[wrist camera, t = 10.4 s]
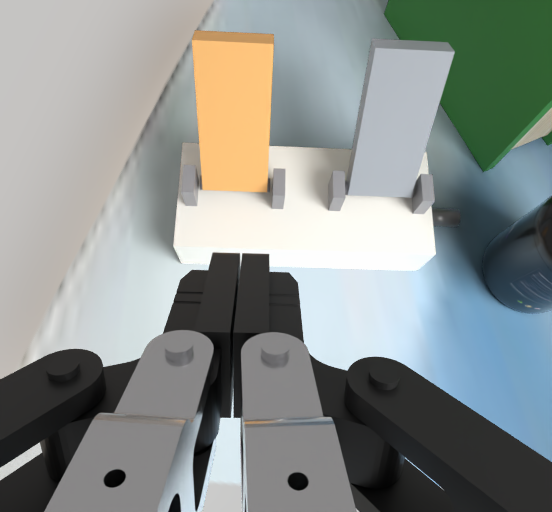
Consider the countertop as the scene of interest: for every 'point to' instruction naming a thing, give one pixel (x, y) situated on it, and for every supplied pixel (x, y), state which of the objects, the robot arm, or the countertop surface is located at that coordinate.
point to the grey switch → (396, 115)
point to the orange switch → (233, 108)
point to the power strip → (307, 216)
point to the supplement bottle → (523, 262)
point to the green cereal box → (489, 67)
